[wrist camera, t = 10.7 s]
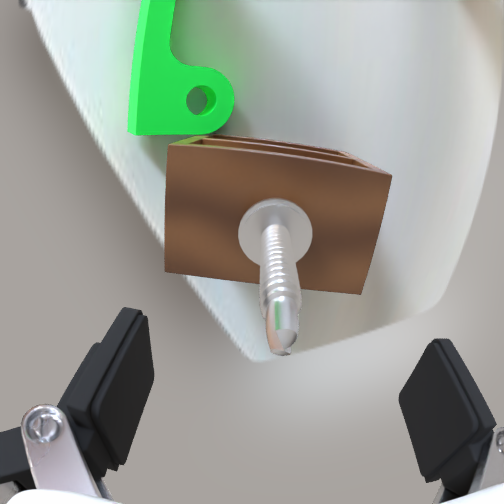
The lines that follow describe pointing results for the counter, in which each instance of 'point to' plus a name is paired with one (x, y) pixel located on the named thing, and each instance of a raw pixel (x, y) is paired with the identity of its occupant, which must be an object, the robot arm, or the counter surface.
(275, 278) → the screw
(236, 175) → the shelf
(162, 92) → the bracket
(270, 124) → the counter surface
